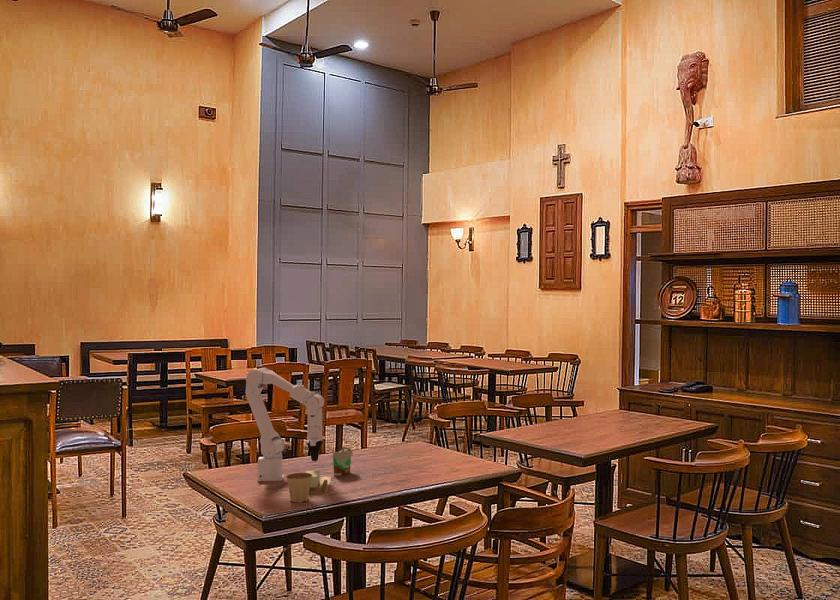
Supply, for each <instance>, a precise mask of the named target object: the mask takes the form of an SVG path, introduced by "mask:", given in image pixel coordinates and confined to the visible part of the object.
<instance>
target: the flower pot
mask: <svg viewBox="0 0 840 600" xmlns="http://www.w3.org/2000/svg"><path fill="white" fill-rule="evenodd" d="M312 476H313V475H312V474H310V473H306V472H294V473H293V472H292V473H289V474H287V475H285V479H286V482H287V484H288V485H287V486H288V491H289V499H290V501H291V502H293V503H304V502H307V501H308V500H309V498H310V497H309V496H310V493H309V488H310V481H311V477H312Z"/></svg>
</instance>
